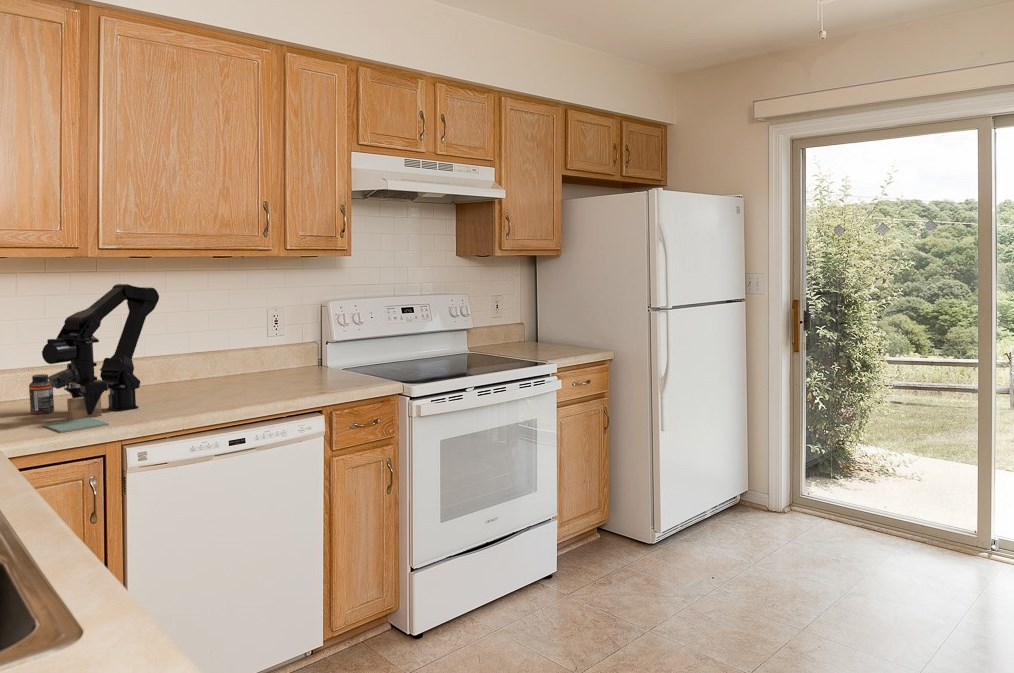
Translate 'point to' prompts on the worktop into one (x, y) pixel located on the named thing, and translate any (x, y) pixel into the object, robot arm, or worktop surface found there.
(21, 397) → the worktop surface
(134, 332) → the robot arm
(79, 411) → the slab
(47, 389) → the supplement bottle
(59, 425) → the mat
